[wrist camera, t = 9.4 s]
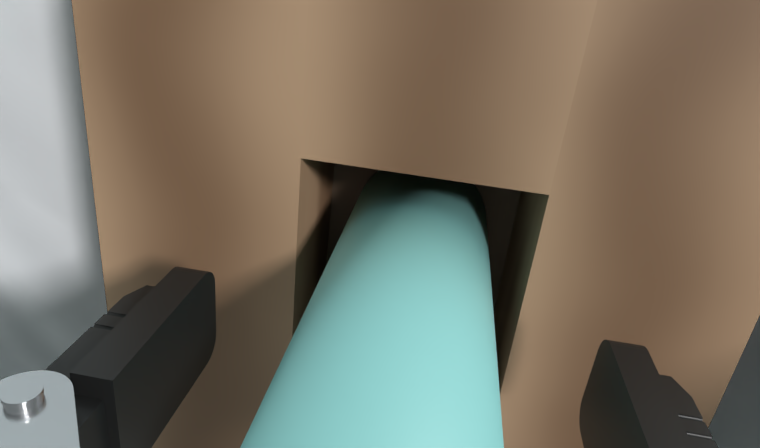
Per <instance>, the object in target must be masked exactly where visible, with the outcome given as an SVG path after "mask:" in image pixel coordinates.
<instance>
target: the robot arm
mask: <svg viewBox="0 0 760 448" xmlns="http://www.w3.org/2000/svg"><path fill="white" fill-rule="evenodd" d="M215 340H216V295H215V278H214V275H213V273H212V272H208V271H202V270H196V269H190V268H184V267H178V266H177V267H174V268H173V269H172V270H171V271H170V272H169V273H168V274H167V275H166V276H165V277H164V278H163V279H162V280H161V281H160V282H159V283H158V284H157V285H156V286H149V285H146V286H144V287H142V288H140V289H138V290H136V291H134V292H131V293H129V294H127V295H125V296H123V297H122V298H121V299H120V300H119V301H118V302H117V303H116V304H115V305H114V306H113V307H112V308H111V309H110V310H109V311H108V313H107V315H106V314H104V315H103V316H102V317H101V318H100V319H99V320H98V321H97V322H96V323H95V325H94V327H91V328H89V329H88V330H87V331H86V332H85V333H84V334H83V335H82V336H81V337H80V338H79V339H78V340H77V341H76V342H75V343H74V344H72V345H71V346H70V347H69V348H68V349H67V350H66V351H65V352H64V353H63V354H62V355H61V356H60V357H59V358H58V359H57V360H55V361H54V362H53V363H52V364H51V365H50V366H49V367H48V368H47V369H46V370H36V371H28V372H22V373H18V374H15V375H12V376H9V377H6V378H4V379H2V380H0V448H152V446H153V445H154V443H155V442H156V440H157V439H158V437H159V436H160V434H161V433H162V431H163V430H164V428H165V427H166V425H167V424H168V422H169V421H170V419H171V418H172V416H173V415H174V413H175V412H176V410H177V409H178V407H179V406H180V404H181V403H182V401H183V400H184V398H185V397H186V395H187V394H188V392H189V391H190V389H191V388H192V386H193V385H194V383H195V382H196V380H197V379H198V377H199V376H200V374H201V373H202V371H203V370H204V368H205V367H206V365H207V364H208V362H209V360H210V358H211V355H212V353H213V349H214V346H215ZM579 426H580V433H581V437H582V442H583V446H584V448H718V446H717V444H716V442H715V441H713V440H712V435H711V433H710V431H709V429H708V427H707V425H706V423H705V422H703V417H702V415H701V414H700V412H699V410H698V408H697V406H696V404H695V402H694V400H693V398H692V396H691V395H690V394H688V393H687V392H686V391H685V390H684V389H683V388H682V387H681V386H680V385H679V384H678V383H677V382H676V381H675V380H674V379H673V378H672V377H671V376H666V375H660V374H659V373H658V371H657V369H656V366H655V364H654V362H653V360H652V358H651V356H650V354H649V351H648V350H647V348H646V347H645V346H642V345H636V344H630V343H624V342H618V341H612V340H603V341H602V342H601V344H600V346H599V348H598V351H597V354H596V357H595V361H594V364H593V367H592V370H591V373H590V376H589V379H588V382H587V385H586V388H585V391H584V394H583V397H582V401H581V406H580V414H579Z"/></svg>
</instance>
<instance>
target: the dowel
mask: <svg viewBox="0 0 760 448" xmlns="http://www.w3.org/2000/svg"><path fill="white" fill-rule="evenodd" d="M240 448H504V442H503V429H502V416H501V403H500V390H499V377H498V364H497V351H496V338H495V324H494V311H493V298H492V285H491V272H490V259H489V246H488V233H487V220H486V211H485V205H484V202H483V199H482V197H481V195H480V192H479V190H478V189H477V187H476V186H475V184H471V183H464V182H458V181H451V180H444V179H437V178H431V177H424V176H417V175H410V174H403V173H397V172H390V171H383V170H379V171H377V172H376V173H375V174H374V175H373V176H372V177H371V178H370V179H369V180H368V182H367V183H366V185H365V186H364V187H363V189H362V191H361V194H360V196H359V198H358V200H357V202H356V204H355V206H354V208H353V210H352V213H351V215H350V217H349V219H348V221H347V223H346V225H345V227H344V229H343V231H342V234H341V236H340V238H339V240H338V242H337V244H336V246H335V248H334V250H333V253H332V255H331V257H330V259H329V261H328V263H327V265H326V267H325V269H324V272H323V274H322V276H321V278H320V280H319V282H318V284H317V286H316V288H315V291H314V293H313V295H312V297H311V299H310V301H309V303H308V305H307V307H306V310H305V312H304V314H303V316H302V318H301V320H300V322H299V324H298V326H297V329H296V331H295V333H294V335H293V337H292V339H291V341H290V343H289V345H288V348H287V350H286V352H285V354H284V356H283V358H282V360H281V362H280V364H279V367H278V369H277V371H276V373H275V375H274V377H273V379H272V381H271V383H270V386H269V388H268V390H267V392H266V394H265V396H264V398H263V400H262V402H261V405H260V407H259V409H258V411H257V413H256V415H255V417H254V419H253V421H252V424H251V426H250V428H249V430H248V432H247V434H246V436H245V438H244V440H243V443H242V445H241V447H240Z"/></svg>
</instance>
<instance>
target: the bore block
mask: <svg viewBox="0 0 760 448" xmlns="http://www.w3.org/2000/svg"><path fill="white" fill-rule="evenodd" d="M72 8H73V17H74V26H75V34H76V43H77V52H78V60H79V69H80V78H81V86H82V95H83V104H84V112H85V121H86V130H87V139H88V147H89V156H90V165H91V173H92V182H93V191H94V199H95V208H96V217H97V225H98V234H99V243H100V251H101V260H102V269H103V277H104V286H105V295H106V303H107V312H108V311H109V310H110V309H111V308H112V307H113V306H114V305H115V304H116V303H117V302H118V301H119V300H120V299H121V298H122V297H123V296H125V295H127V294H129V293H131V292H134V291H136V290H138V289H140V288H142V287H144V286H146V285H149V286H156V285H157V284H158V283H159V282H160V281H161V280H162V279H163V278H164V277H165V276H166V275H167V274H168V273H169V272H170V271H171V270H172V269H173V268H174V267H177V266H178V267H184V268H190V269H196V270H202V271H208V272H212V273H213V275H214V278H215V295H216V340H215V346H214V349H213V353H212V355H211V358H210V360H209V362H208V364H207V365H206V367H205V368H204V370H203V371H202V373H201V374H200V376H199V377H198V379H197V380H196V382H195V383H194V385H193V386H192V388H191V389H190V391H189V392H188V394H187V395H186V397H185V398H184V400H183V401H182V403H181V404H180V406H179V407H178V409H177V410H176V412H175V413H174V415H173V416H172V418H171V419H170V421H169V422H168V424H167V425H166V427H165V428H164V430H163V431H162V433H161V434H160V436H159V437H158V439H157V440H156V442H155V443H154V445H153V446H152V448H240V447H241V445H242V443H243V440H244V438H245V436H246V434H247V432H248V430H249V428H250V426H251V424H252V421H253V419H254V417H255V415H256V413H257V411H258V409H259V407H260V405H261V402H262V400H263V398H264V396H265V394H266V392H267V390H268V388H269V386H270V383H271V381H272V379H273V377H274V375H275V373H276V371H277V369H278V367H279V364H280V362H281V360H282V358H283V356H284V354H285V352H286V350H287V348H288V345H289V343H290V341H291V339H292V337H293V335H294V333H295V331H296V329H297V326H298V324H299V322H300V320H301V318H302V316H303V314H304V312H305V310H306V307H307V305H308V303H309V301H310V299H311V297H312V295H313V293H314V291H315V288H316V286H317V284H318V282H319V280H320V278H321V276H322V274H323V272H324V269H325V267H326V265H327V263H328V261H329V259H330V257H331V255H332V253H333V250H334V248H335V246H336V244H337V242H338V240H339V238H340V236H341V234H342V231H343V229H344V227H345V225H346V223H347V221H348V219H349V217H350V215H351V213H352V210H353V208H354V206H355V204H356V202H357V200H358V198H359V196H360V194H361V191H362V189H363V187H364V186H365V185H366V183H367V182H368V180H369V179H370V178H371V177H372V176H373V175H374V174H375V173H376V172H377V171H379V170H383V171H390V172H397V173H403V174H410V175H417V176H424V177H431V178H437V179H444V180H451V181H458V182H464V183H471V184H475V186H476V187H477V189H478V190H479V192H480V195H481V197H482V199H483V202H484V205H485V211H486V220H487V233H488V246H489V259H490V272H491V285H492V298H493V311H494V324H495V338H496V351H497V364H498V377H499V390H500V403H501V416H502V429H503V442H504V448H584V446H583V442H582V437H581V433H580V426H579V414H580V406H581V401H582V397H583V394H584V391H585V388H586V385H587V382H588V379H589V376H590V373H591V370H592V367H593V364H594V361H595V357H596V354H597V351H598V348H599V346H600V344H601V342H602V341H603V340H612V341H618V342H624V343H630V344H636V345H642V346H645V347H646V348H647V350H648V351H649V354H650V356H651V358H652V360H653V362H654V364H655V366H656V369H657V371H658V373H659V374H660V375H666V376H671V377H672V378H673V379H674V380H675V381H676V382H677V383H678V384H679V385H680V386H681V387H682V388H683V389H684V390H685V391H686V392H687V393H688V394H690V395H691V396H692V398H693V400H694V402H695V404H696V406H697V408H698V410H699V412H700V414H701V415H702V417H703V422H705V423H706V425H707V427H709V425H710V423H711V420H712V418H713V416H714V414H715V412H716V409H717V407H718V405H719V403H720V401H721V399H722V396H723V394H724V392H725V390H726V388H727V385H728V383H729V381H730V379H731V377H732V375H733V372H734V370H735V368H736V366H737V364H738V362H739V359H740V357H741V355H742V353H743V351H744V348H745V346H746V344H747V342H748V340H749V338H750V335H751V333H752V331H753V329H754V327H755V324H756V322H757V320H758V318H759V316H760V0H72Z"/></svg>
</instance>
